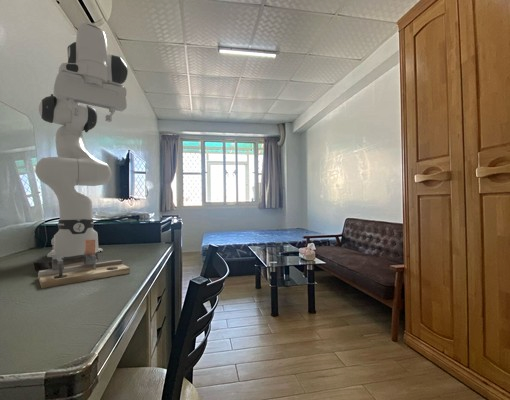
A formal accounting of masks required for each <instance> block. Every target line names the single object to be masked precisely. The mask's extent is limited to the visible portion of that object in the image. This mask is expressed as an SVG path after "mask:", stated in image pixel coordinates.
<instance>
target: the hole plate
mask: <svg viewBox="0 0 510 400" xmlns="http://www.w3.org/2000/svg"><path fill="white" fill-rule="evenodd" d="M51 260H52V269H48V270H41V271H38V272H37V273H38V274H37V276H38V277H37V278H38V279H37V280H38V282H39V284H40V287H41V289H46V288H51V287H57V286H62V285H63V286H64V285H69V284H74V283H80V282H86V281H92V280H97V279H103V278H108V277H109V278H110V277H116V276H122V275H127V274H131V267H129V266H127V265H125V264H123V260H122V259H116V260H115V259H114V260H108V261H100V262H99V261H98V262H96V269H95V270H93V264H91V265H77V266H70V267H64V257H63V256H62V257H51Z"/></svg>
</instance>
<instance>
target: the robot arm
mask: <svg viewBox="0 0 510 400" xmlns="http://www.w3.org/2000/svg"><path fill="white" fill-rule="evenodd" d="M128 72H129V71H128V66H127V64H126V62H125V61H124V59H122V57H121V56H118V55H114V54H110V53H108V41H107V36H106V34H105V31H104V30H103V29H101V28H100V27H98V26H95V25H93V24H89V23H79V24H78V26H77V32H76V39H75V42H72V43H70V44H68V46H67V62H63V63H61V64H60V65H59V67H58V73H57V75H56V78H55V81H54V84H53V85H54V86H53V93H50V95H49V96H45V97H44V98H42V99H41V102H40V103H39V105H38V113H39V115H40V117H41V119H42V120H43V121H44V122H47V123H49V124H57V125H61V126H59V127H58V128H57V131H56V133H55V139H54V141H55V147H56V148H55V149H56V155H57V156H52V157H51V156H49V157H42V158H40V160H38V161H37V163H36V165H35V176H36V177H37V178H38V179H39V181H40V182H41V183H43V184H45V185H47V187H48V188H50V189H51V190H52V192H53V194H55V196H56V198H57V202H58V208H59V209H58V210H59V220H58V221H57V222H58V223H57V229H58V231H57V232H56V233H55V234H54V235H53V237H52V239H51V242H50V243H51V245H52V250H50V252H48V254H47V256H46V257H47V258H53V257H62V256H63V257H71V256H77V255H84V240H86V239H95V253H96V254H97V253H100V251H101V252H103V251H104V250H103V248H101V247H99V236H98V231H96V230H95V229H94V224H95V221H94V218H93V202H92V199H91V198H90V197H89V196H87V195H85V194H82V193H80V192H78V191H77V190H76V189H75V187H77V186H83V187H84V186H85V187H86V186H87V187H96V186H97V187H98V186H104V185H105V186H106V184H108V183H109V182H110V181H111V179H112V175H113V174H112V169H111V167H110V166H109V164H108V163H106V162H105V161H102V160H100V159H99V158H96V157H95V156H93V155H92V154H91V153H90V152H89V151H88V148H87V146H86V141H85V138H84V136H83V132H84V133H88V132H89V131H91V130H92V129H94V128H95V127H96V125H97V123H98V120H99V119H98V118H99V117H98V114H97V110H96V109H95V108H94V107H98V108H103V109H106V110H108V111H109V112H108V113H109V114H106V115H105V121H106V122H109V123H112V118H113V117H112V116H113V115H114V113H116V111H117V112H124V111H125V110H126V109H127V106H128V105H127V97H126V96H127V89H126V87H125V86H124V85H123V84H124V83H125V82H126V80H127V78H128ZM92 106H93V107H92Z"/></svg>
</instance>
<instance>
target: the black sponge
mask: <svg viewBox="0 0 510 400" xmlns="http://www.w3.org/2000/svg"><path fill="white" fill-rule="evenodd" d="M99 260H100V259H99V256H98V253H96V263H99ZM32 264H33V266H34V271H35V272H39V271H41V270H48V269H52V259H47V260H40V261H33V262H32ZM77 265H85V264H84V255H77V256H71V257H64V267H70V266H77Z"/></svg>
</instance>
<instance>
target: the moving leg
mask: <svg viewBox="0 0 510 400" xmlns="http://www.w3.org/2000/svg"><path fill="white" fill-rule="evenodd" d="M96 254H97V252H96V253H95V239H86V240H84V264H85V265H91V264H93V270H95V269H96V263H97V262H96Z"/></svg>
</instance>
